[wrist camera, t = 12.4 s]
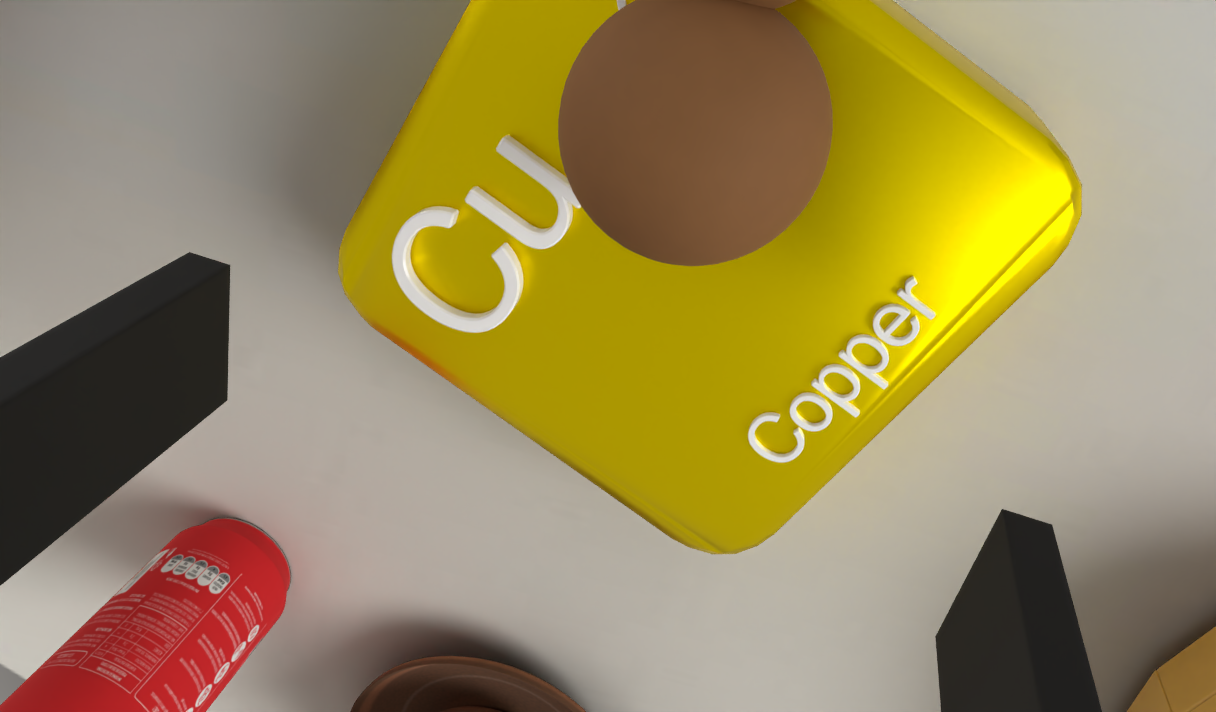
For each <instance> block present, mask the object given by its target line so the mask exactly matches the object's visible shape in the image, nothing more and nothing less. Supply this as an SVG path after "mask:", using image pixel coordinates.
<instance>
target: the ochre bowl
mask: <svg viewBox="0 0 1216 712" xmlns="http://www.w3.org/2000/svg"><path fill="white" fill-rule="evenodd" d="M1127 712H1216V626H1215V627H1214V628H1212V629H1211V630H1209V631H1208V632H1207V633H1205V634H1204V635H1203V636H1201V637H1200V638H1199V639H1197V640H1196V641H1194V642H1193V643H1192V644H1190V645H1189V646H1188V647H1186V648H1185V649H1184V650H1182V651H1181V652H1180V653H1178V654H1177V655H1175V656H1174V657H1173V658H1171V659H1170V660H1169V661H1167V662H1166V663H1165V664H1163V665H1162V666H1160V667H1159V668H1158V669H1157V670H1155V671H1154V672H1153V674H1152V675H1151V677H1150V678H1149V679H1148V681H1147V682H1146V684H1145V685H1144V687H1143V688H1142V690H1141V691H1140V693H1139V694H1138V696H1137V697H1136V698H1135V700H1134V701H1133V703H1132V704H1131V706H1130V707H1129V709H1128V710H1127Z"/></svg>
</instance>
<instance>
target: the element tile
mask: <svg viewBox="0 0 1216 712" xmlns="http://www.w3.org/2000/svg"><path fill="white" fill-rule="evenodd" d="M633 1H635V0H471V1H470V3H469V5H468V7H467V8H466V10H465V12H464V14H463V16H462V18H461V19H460V21H459V23H458V25H457V27H456V29H455V30H454V32H453V34H452V36H451V38H450V40H449V41H448V43H447V45H446V47H445V49H444V51H443V52H442V54H441V56H440V58H439V60H438V62H437V63H436V65H435V67H434V69H433V71H432V72H431V74H430V76H429V78H428V80H427V82H426V83H425V85H424V87H423V89H422V91H421V93H420V94H419V96H418V98H417V100H416V102H415V104H414V105H413V107H412V109H411V111H410V113H409V115H408V116H407V118H406V120H405V122H404V124H403V126H402V127H401V129H400V131H399V133H398V135H397V137H396V138H395V140H394V142H393V144H392V146H391V148H390V149H389V151H388V153H387V155H386V157H385V159H384V160H383V162H382V164H381V166H380V168H379V170H378V171H377V173H376V175H375V177H374V179H373V181H372V182H371V184H370V186H369V188H368V190H367V192H366V193H365V195H364V197H363V199H362V201H361V203H360V204H359V206H358V208H357V210H356V212H355V214H354V215H353V217H352V219H351V221H350V223H349V225H348V226H347V228H346V231H345V234H344V237H343V240H342V243H341V246H340V248H339V266H338V274H339V277H340V280H341V283H342V286H343V289H344V292H345V295H346V296H347V298H348V299H349V300H350V302H351V303H352V305H353V306H354V307H355V309H356V310H357V311H358V313H359V314H360V315H361V317H362V318H363V319H364V320H365V321H366V322H367V323H368V324H369V325H370V326H371V327H373V328H374V329H376V330H377V331H378V332H380V333H381V334H383V335H384V336H385V337H387V338H388V339H390V340H391V341H393V342H394V343H395V344H397V345H398V346H400V347H401V348H402V349H404V350H405V351H407V352H408V353H410V354H411V355H412V356H414V357H415V358H417V359H418V360H419V361H421V362H422V363H424V364H425V365H427V366H428V367H429V368H431V369H432V370H434V371H435V372H436V373H438V374H439V375H441V376H442V377H444V378H445V379H446V380H448V381H449V382H451V383H452V384H454V385H455V386H456V387H458V388H459V389H461V390H462V391H463V392H465V393H466V394H468V395H469V396H471V397H472V398H473V399H475V400H476V401H478V402H479V403H480V404H482V405H483V406H485V407H486V408H488V409H489V410H490V411H492V412H493V413H495V414H496V415H497V416H499V417H500V418H502V419H503V420H505V421H506V422H507V423H509V424H510V425H512V426H513V427H515V428H516V429H517V430H519V431H520V432H522V433H523V434H524V435H526V436H527V437H529V438H530V439H532V440H533V441H534V442H536V443H537V444H539V445H540V446H541V447H543V448H544V449H546V450H547V451H549V452H550V453H551V454H553V455H554V456H556V457H557V458H558V459H560V460H561V461H563V462H564V463H566V464H567V465H568V466H570V467H571V468H573V469H574V470H575V471H577V472H578V473H580V474H581V475H583V476H584V477H585V478H587V479H588V480H590V481H591V482H593V483H594V484H595V485H597V486H598V487H600V488H601V489H602V490H604V491H605V492H607V493H608V494H610V495H611V496H612V497H614V498H615V499H617V500H618V501H619V502H621V503H622V504H624V505H625V506H627V507H628V508H629V509H631V510H632V511H634V512H635V513H636V514H638V515H639V516H641V517H642V518H644V519H645V520H646V521H648V522H649V523H651V524H652V525H654V526H655V527H656V528H658V529H659V530H661V531H662V532H663V533H665V534H666V535H668V536H669V537H671V538H672V539H674V540H676V541H678V542H680V543H682V544H684V545H686V546H688V547H690V548H693V549H697V550H700V551H704V552H707V553H710V554H736V553H739V552H742V551H744V550H747V549H750V548H753V547H755V546H758V545H759V544H761V543H762V542H764V541H765V540H766V539H768V538H769V537H771V536H772V535H774V534H775V533H776V532H777V531H778V530H779V529H780V528H781V527H782V526H783V525H784V524H785V523H786V522H787V521H788V520H789V519H790V518H791V517H792V516H793V515H794V514H795V513H796V512H798V511H799V510H800V509H801V508H802V507H803V506H804V505H805V504H806V503H807V502H808V501H809V500H810V499H811V498H812V497H813V496H814V495H815V494H816V493H817V492H818V491H819V490H820V489H821V488H822V487H823V486H824V485H826V484H827V483H828V482H829V481H830V480H831V479H832V478H833V477H834V476H835V475H836V474H837V473H838V472H839V471H840V470H841V469H842V468H843V467H844V466H845V465H846V464H847V463H848V462H849V461H850V460H851V459H853V458H854V457H855V456H856V455H857V454H858V453H859V452H860V451H861V450H862V449H863V448H864V447H865V446H866V445H867V444H868V443H869V442H870V441H871V440H872V439H873V438H874V437H875V436H876V435H877V434H878V433H879V432H881V431H882V430H883V429H884V428H885V427H886V426H887V425H888V424H889V423H890V422H891V421H892V420H893V419H894V418H895V417H896V416H897V415H898V414H899V413H900V412H901V411H902V410H903V409H904V408H905V407H906V406H907V405H909V404H910V403H911V402H912V401H913V400H914V399H915V398H916V397H917V396H918V395H919V394H920V393H921V392H922V391H923V390H924V389H925V388H926V387H927V386H928V385H929V384H930V383H931V382H932V381H933V380H934V379H936V378H937V377H938V376H939V375H940V374H941V373H942V372H943V371H944V370H945V369H946V368H947V367H948V366H949V365H950V364H951V363H952V362H953V361H954V360H955V359H956V358H957V357H958V356H959V355H960V354H961V353H962V352H964V351H965V350H966V349H967V348H968V347H969V346H970V345H971V344H972V343H973V342H974V341H975V340H976V339H977V338H978V337H979V336H980V335H981V334H982V333H983V332H984V331H985V330H986V329H987V328H988V327H989V326H991V325H992V324H993V323H994V322H995V321H996V320H997V319H998V318H999V317H1000V316H1001V315H1002V314H1003V313H1004V312H1005V311H1006V310H1007V309H1008V308H1009V307H1010V306H1011V305H1012V304H1013V303H1014V302H1015V301H1016V300H1017V299H1019V298H1020V297H1021V296H1022V295H1023V294H1024V293H1025V292H1026V291H1027V290H1028V289H1029V288H1030V287H1031V286H1032V285H1033V284H1034V283H1035V282H1036V281H1037V280H1038V279H1039V278H1040V277H1041V276H1042V275H1043V274H1044V273H1046V272H1047V271H1048V270H1049V269H1050V268H1051V267H1052V266H1053V264H1054V263H1055V262H1056V261H1057V259H1058V258H1059V257H1060V255H1061V254H1062V253H1063V251H1064V250H1065V249H1066V247H1067V246H1068V244H1069V242H1070V240H1071V238H1072V235H1073V233H1074V231H1075V229H1076V226H1077V224H1078V222H1079V219H1080V217H1081V215H1082V184H1081V182H1080V180H1079V178H1078V176H1077V173H1076V171H1075V169H1074V167H1073V165H1072V163H1071V161H1070V159H1069V157H1068V155H1067V154H1066V152H1065V151H1064V150H1063V148H1062V147H1061V146H1060V144H1059V143H1058V142H1057V140H1056V139H1055V138H1054V136H1053V135H1052V134H1051V132H1050V131H1049V130H1048V128H1047V127H1046V126H1045V124H1044V123H1043V122H1042V120H1041V119H1040V118H1039V117H1038V116H1037V115H1036V114H1035V113H1034V111H1033V110H1032V109H1031V108H1030V107H1029V106H1028V105H1027V104H1026V103H1024V102H1023V101H1022V100H1021V99H1019V98H1018V97H1017V96H1015V95H1014V94H1013V93H1012V92H1010V91H1009V90H1008V89H1006V88H1005V87H1004V86H1003V85H1001V84H1000V83H999V82H997V81H996V80H995V79H993V78H992V77H991V76H990V75H988V74H987V73H986V72H984V71H983V70H982V69H981V68H979V67H978V66H977V65H975V64H974V63H973V62H972V61H970V60H969V59H968V58H966V57H965V56H964V55H962V54H961V53H960V52H959V51H957V50H956V49H955V48H953V47H952V46H951V45H950V44H948V43H947V42H946V41H944V40H943V39H942V38H941V37H939V36H938V35H937V34H935V33H934V32H933V31H932V30H930V29H929V28H928V27H926V26H925V25H924V24H922V23H921V22H920V21H919V20H917V19H916V18H915V17H913V16H912V15H911V14H910V13H908V12H907V11H906V10H904V9H903V8H902V7H901V6H899V5H898V4H897V3H895V2H894V1H893V0H796V1H794V2H792V3H790V4H787V5H785V6H782V7H780V8H776V9H775V10H777V11H778V12H780V13H781V14H782V15H783V16H784V17H786V18H787V19H788V20H789V21H790V22H791V23H792V24H793V25H794V26H795V27H796V28H797V29H798V30H799V32H800V33H801V34H802V35H803V36H804V38H805V39H806V40H807V41H808V43H809V45H810V46H811V48H812V49H813V51H814V53H815V54H816V56H817V58H818V60H819V62H820V65H821V67H822V69H823V71H824V74H825V77H826V81H827V84H828V87H829V91H830V97H831V103H832V111H833V131H832V140H831V148H830V153H829V157H828V161H827V165H826V168H825V171H824V173H823V176H822V179H821V181H820V184H819V186H818V188H817V189H816V191H815V193H814V195H813V197H812V198H811V200H810V202H809V203H808V204H807V206H806V207H805V209H804V210H803V211H802V213H801V214H800V215H799V216H798V217H797V218H796V219H795V221H794V222H793V223H792V224H791V225H790V226H789V227H788V228H787V229H786V230H785V231H784V232H782V233H781V234H780V235H779V236H777V237H776V238H775V239H774V240H772V241H771V242H769V243H768V244H766V245H764V246H763V247H761V248H759V249H758V250H756V251H754V252H752V253H749V254H747V255H745V256H742V257H740V258H738V259H734V260H731V261H727V262H723V263H719V264H713V265H704V266H681V265H672V264H666V263H662V262H658V261H654V260H651V259H648V258H646V257H643V256H641V255H639V254H636V253H634V252H632V251H630V250H628V249H626V248H625V247H623V246H622V245H620V244H619V243H617V242H616V241H614V240H613V239H611V238H610V237H609V236H608V235H606V234H605V233H604V232H603V231H602V230H601V229H600V228H599V227H598V226H597V225H596V224H595V223H594V222H593V221H592V220H591V218H590V217H589V216H588V214H587V213H586V212H585V211H584V209H583V208H582V207H581V205H580V203H579V202H578V200H577V198H576V196H575V195H574V193H573V191H572V189H571V186H570V184H569V181H568V179H567V176H566V174H565V171H564V167H563V163H562V160H561V156H560V148H559V140H558V118H559V110H560V103H561V97H562V93H563V90H564V86H565V82H566V79H567V77H568V75H569V72H570V70H571V67H572V65H573V63H574V61H575V59H576V58H577V56H578V54H579V52H580V51H581V49H582V47H583V46H584V45H585V43H586V42H587V41H588V39H589V38H590V37H591V36H592V34H593V33H594V32H595V31H596V30H597V29H598V28H599V27H600V26H601V25H602V24H603V23H604V22H605V21H606V20H607V19H608V18H609V17H611V16H612V15H613V14H615V13H616V12H617V11H619V10H620V9H621V8H623V7H624V6H626V5H628V4H630V3H631V2H633Z"/></svg>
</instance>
